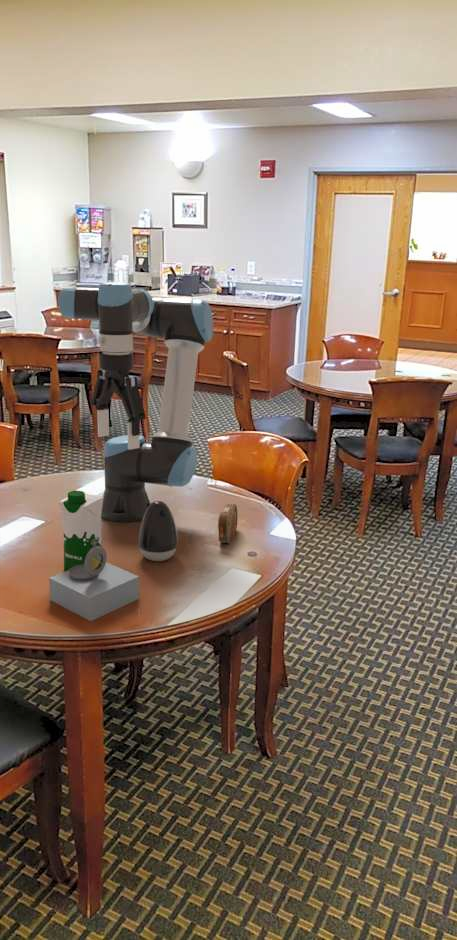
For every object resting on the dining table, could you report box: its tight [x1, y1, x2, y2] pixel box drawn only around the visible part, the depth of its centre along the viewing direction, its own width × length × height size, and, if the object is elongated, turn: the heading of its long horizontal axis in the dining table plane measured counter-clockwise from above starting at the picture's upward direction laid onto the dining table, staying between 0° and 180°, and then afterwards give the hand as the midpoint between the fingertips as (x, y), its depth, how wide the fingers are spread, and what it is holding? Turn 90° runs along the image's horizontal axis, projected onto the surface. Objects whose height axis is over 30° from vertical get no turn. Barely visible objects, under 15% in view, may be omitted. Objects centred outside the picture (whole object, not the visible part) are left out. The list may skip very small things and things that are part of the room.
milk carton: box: [58, 490, 104, 571], centre depth 176 cm, size 9×9×20 cm
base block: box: [48, 561, 140, 622], centre depth 163 cm, size 14×14×6 cm
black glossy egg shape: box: [137, 500, 179, 562], centre depth 184 cm, size 10×10×15 cm
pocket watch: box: [69, 537, 107, 580], centre depth 160 cm, size 8×8×10 cm
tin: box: [217, 503, 238, 544], centre depth 199 cm, size 15×3×8 cm, turn 168°
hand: (118, 442), depth 172 cm, fingers open, 13 cm apart
